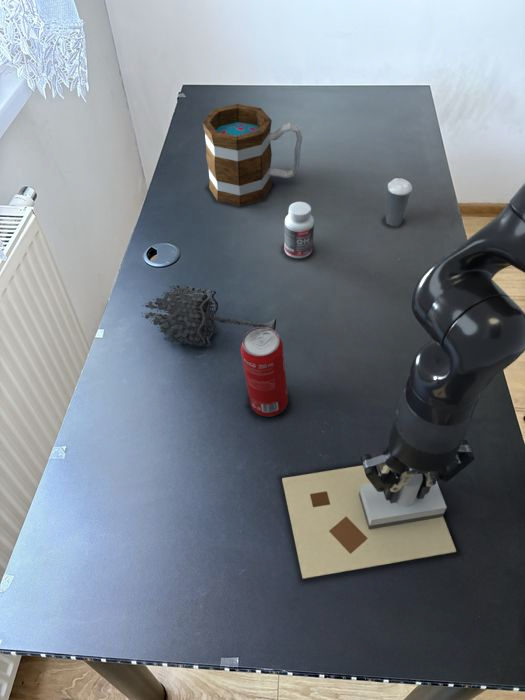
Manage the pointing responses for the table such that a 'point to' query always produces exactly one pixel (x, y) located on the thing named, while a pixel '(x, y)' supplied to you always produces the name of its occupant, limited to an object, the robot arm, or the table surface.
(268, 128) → the mug
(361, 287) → the table surface
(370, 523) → the scrub brush
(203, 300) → the dark grey model tree
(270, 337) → the beverage can
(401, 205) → the milkshake
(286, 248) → the pill bottle
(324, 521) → the stain mat
